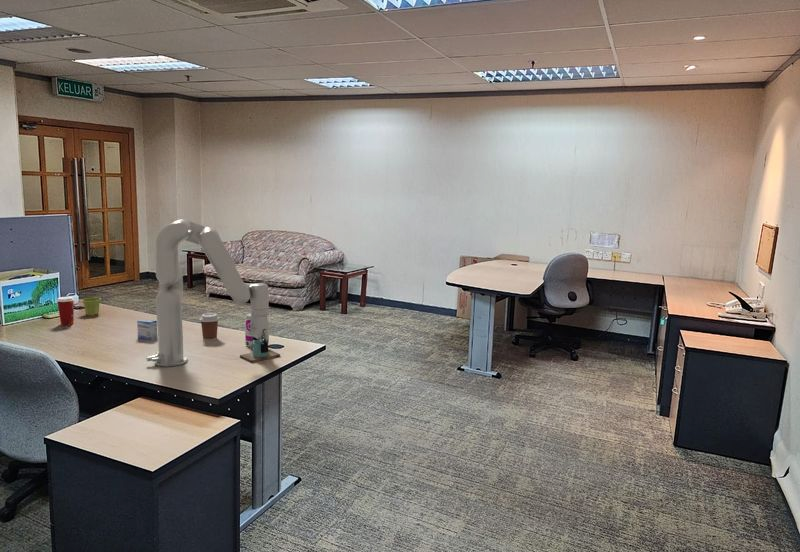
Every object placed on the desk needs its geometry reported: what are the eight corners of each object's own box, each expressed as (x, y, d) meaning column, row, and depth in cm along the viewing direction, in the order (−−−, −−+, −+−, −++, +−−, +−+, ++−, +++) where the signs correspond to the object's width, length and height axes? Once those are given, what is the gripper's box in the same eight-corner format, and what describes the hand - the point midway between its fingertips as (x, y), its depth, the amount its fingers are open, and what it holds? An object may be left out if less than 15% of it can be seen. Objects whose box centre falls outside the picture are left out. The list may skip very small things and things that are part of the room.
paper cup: (78, 323, 281) (77, 297, 279) (63, 326, 275) (61, 299, 272) (70, 321, 285) (69, 295, 283) (55, 324, 279) (53, 297, 276)
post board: (251, 362, 228) (251, 350, 227) (240, 357, 235) (239, 345, 234) (280, 356, 238) (280, 344, 237) (268, 351, 245) (268, 339, 244)
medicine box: (137, 338, 258) (136, 320, 257) (143, 335, 263) (143, 318, 261) (151, 339, 257) (150, 322, 255) (157, 337, 261) (157, 320, 260)
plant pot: (102, 315, 300) (101, 300, 298) (82, 317, 295) (81, 301, 294) (101, 311, 308) (100, 297, 306) (82, 313, 303) (81, 298, 302)
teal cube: (253, 357, 232) (252, 343, 231) (253, 352, 238) (253, 339, 237) (267, 356, 234) (267, 343, 233) (267, 352, 240) (266, 339, 239)
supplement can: (258, 348, 248) (258, 317, 246) (242, 347, 250) (241, 315, 247) (266, 343, 256) (266, 313, 254) (250, 342, 258) (250, 311, 255)
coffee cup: (203, 342, 255) (202, 317, 253) (197, 337, 262) (196, 314, 260) (222, 339, 260) (221, 315, 258) (216, 335, 268) (215, 311, 266)
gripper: (244, 308, 238) (245, 346, 240) (258, 316, 224) (259, 356, 227) (260, 306, 242) (261, 343, 245) (275, 314, 228) (276, 353, 231)
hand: (260, 349), depth 236 cm, fingers open, 9 cm apart
